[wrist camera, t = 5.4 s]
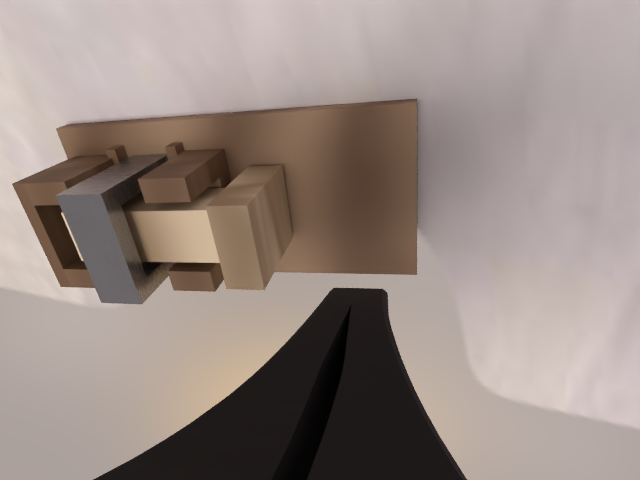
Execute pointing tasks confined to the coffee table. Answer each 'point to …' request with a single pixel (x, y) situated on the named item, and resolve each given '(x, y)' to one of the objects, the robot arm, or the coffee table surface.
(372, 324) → the robot arm
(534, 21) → the coffee table surface
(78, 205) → the collar
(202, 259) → the shaft
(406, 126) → the jig
